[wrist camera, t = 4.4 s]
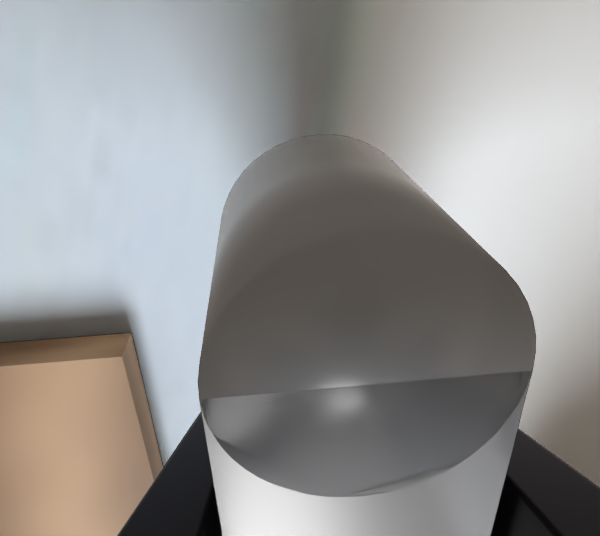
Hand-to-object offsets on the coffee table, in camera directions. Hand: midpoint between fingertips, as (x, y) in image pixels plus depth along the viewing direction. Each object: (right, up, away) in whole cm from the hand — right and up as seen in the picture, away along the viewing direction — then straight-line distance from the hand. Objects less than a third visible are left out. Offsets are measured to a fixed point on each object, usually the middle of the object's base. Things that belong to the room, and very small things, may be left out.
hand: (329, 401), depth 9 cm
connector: (0, -1, +2) cm, 2 cm away
